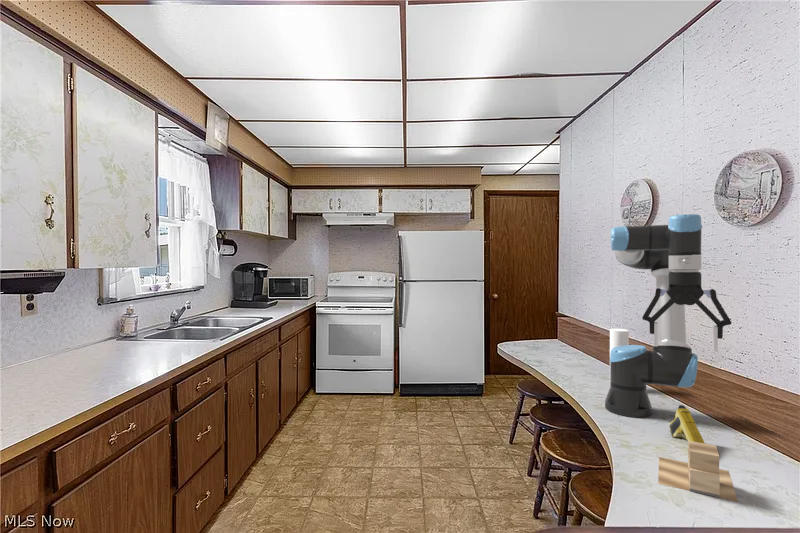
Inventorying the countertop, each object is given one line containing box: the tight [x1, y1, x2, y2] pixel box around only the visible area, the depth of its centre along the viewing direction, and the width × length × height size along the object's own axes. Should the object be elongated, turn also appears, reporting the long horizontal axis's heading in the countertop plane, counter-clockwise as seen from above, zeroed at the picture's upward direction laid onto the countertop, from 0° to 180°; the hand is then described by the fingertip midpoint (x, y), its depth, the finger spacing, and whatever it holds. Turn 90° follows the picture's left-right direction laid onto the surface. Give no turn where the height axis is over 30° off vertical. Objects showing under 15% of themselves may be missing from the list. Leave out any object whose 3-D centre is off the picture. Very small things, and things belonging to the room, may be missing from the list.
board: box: [657, 456, 739, 503], centre depth 105 cm, size 16×15×2 cm
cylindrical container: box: [609, 328, 630, 354], centre depth 181 cm, size 7×7×25 cm
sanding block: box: [687, 441, 721, 499], centre depth 101 cm, size 8×6×9 cm
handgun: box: [668, 404, 706, 444], centre depth 123 cm, size 2×19×12 cm
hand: (684, 348), depth 118 cm, fingers open, 13 cm apart
